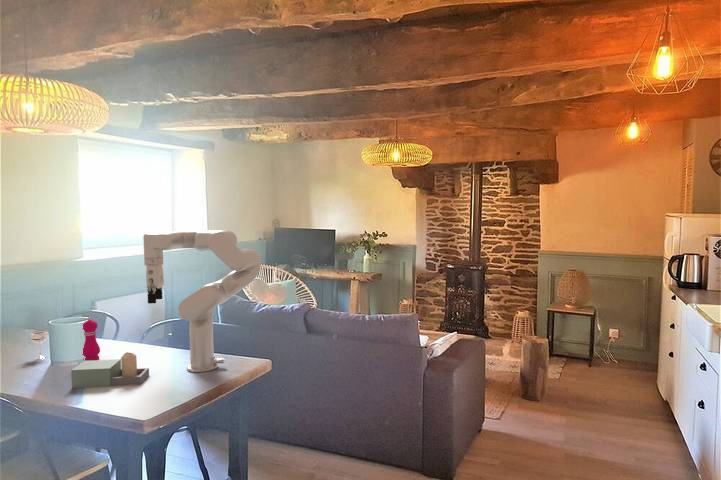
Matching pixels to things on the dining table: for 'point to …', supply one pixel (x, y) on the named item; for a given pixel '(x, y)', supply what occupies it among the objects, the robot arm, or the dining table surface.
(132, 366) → the candle
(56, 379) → the dining table surface
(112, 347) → the dining table surface
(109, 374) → the green boxy piece
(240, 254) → the robot arm
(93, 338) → the pepper mill
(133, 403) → the dining table surface
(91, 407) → the dining table surface
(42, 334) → the wineglass
